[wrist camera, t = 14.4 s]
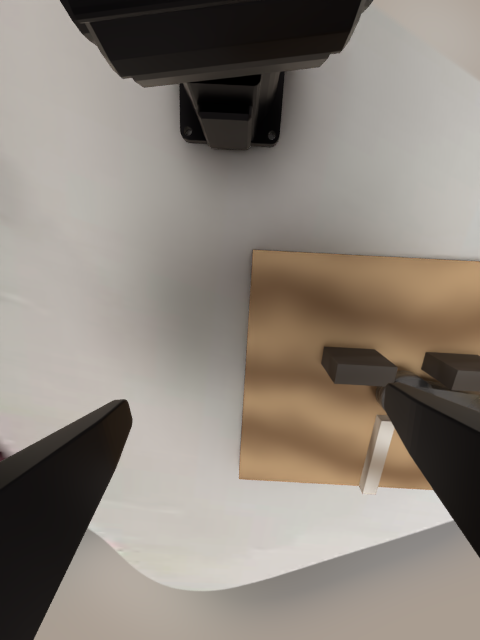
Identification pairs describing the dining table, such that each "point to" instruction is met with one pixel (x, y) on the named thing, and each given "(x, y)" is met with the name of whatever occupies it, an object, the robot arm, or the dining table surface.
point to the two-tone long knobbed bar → (432, 390)
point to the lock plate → (348, 361)
